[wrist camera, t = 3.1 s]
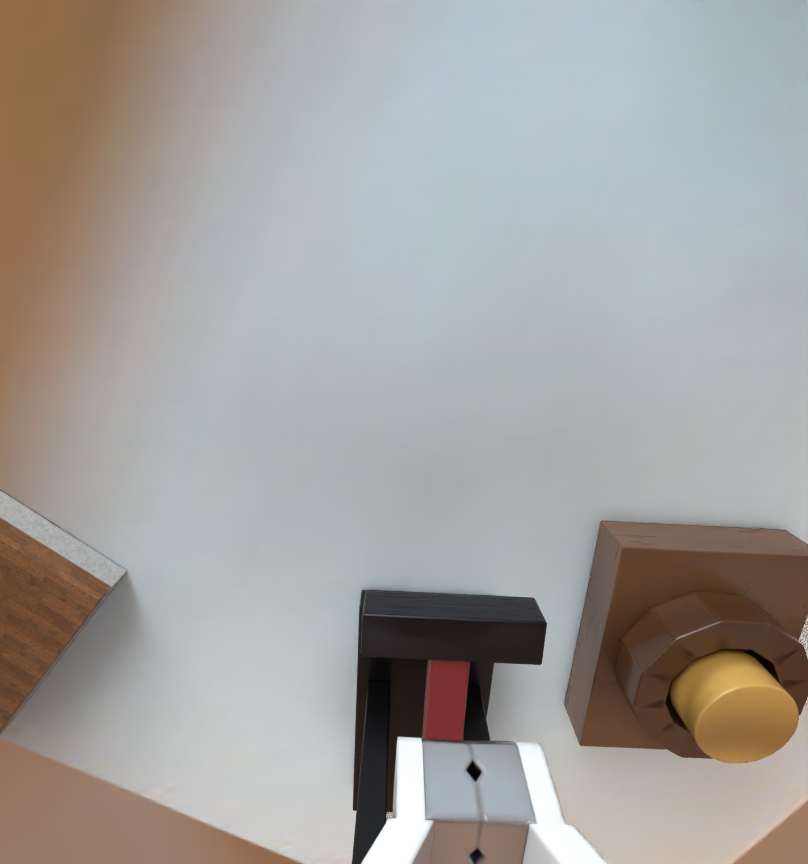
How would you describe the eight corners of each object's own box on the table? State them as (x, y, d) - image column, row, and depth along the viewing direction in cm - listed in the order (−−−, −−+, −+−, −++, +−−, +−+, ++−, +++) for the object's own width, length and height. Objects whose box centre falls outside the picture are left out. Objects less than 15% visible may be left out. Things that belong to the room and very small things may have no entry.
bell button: (681, 645, 18) (708, 682, 16) (775, 650, 18) (813, 687, 16) (660, 720, 19) (684, 762, 18) (750, 724, 19) (782, 766, 18)
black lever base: (361, 589, 22) (329, 827, 12) (495, 596, 22) (565, 836, 12) (355, 787, 25) (325, 1086, 16) (470, 791, 25) (508, 1092, 16)
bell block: (600, 520, 21) (645, 575, 17) (786, 529, 21) (872, 586, 17) (563, 704, 24) (594, 787, 20) (726, 711, 24) (788, 795, 20)
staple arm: (366, 579, 15) (360, 626, 12) (529, 587, 15) (554, 635, 13) (353, 890, 17) (345, 978, 15) (493, 895, 17) (508, 984, 15)
